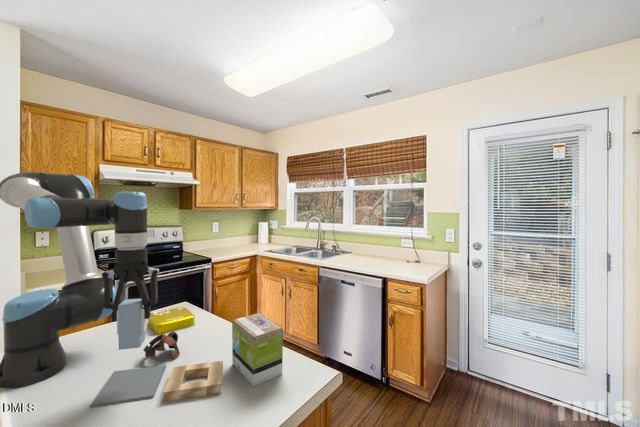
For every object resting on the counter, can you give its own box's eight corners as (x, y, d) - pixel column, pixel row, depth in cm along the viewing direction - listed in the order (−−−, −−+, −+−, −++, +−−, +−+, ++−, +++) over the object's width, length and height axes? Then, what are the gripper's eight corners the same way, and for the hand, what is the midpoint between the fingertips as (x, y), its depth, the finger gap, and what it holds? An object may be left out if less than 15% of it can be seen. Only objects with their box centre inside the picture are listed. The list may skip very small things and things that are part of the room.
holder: (163, 401, 76) (163, 392, 76) (173, 375, 87) (173, 367, 87) (221, 392, 80) (221, 383, 80) (222, 368, 91) (222, 360, 91)
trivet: (90, 407, 73) (90, 404, 73) (114, 373, 88) (114, 371, 88) (153, 397, 77) (153, 395, 77) (166, 366, 92) (166, 364, 92)
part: (118, 349, 79) (118, 305, 78) (125, 341, 84) (124, 299, 83) (139, 347, 80) (139, 303, 80) (145, 339, 85) (144, 298, 85)
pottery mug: (173, 366, 93) (158, 346, 91) (149, 376, 95) (134, 357, 93) (190, 339, 105) (177, 321, 103) (169, 348, 106) (155, 331, 104)
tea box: (230, 364, 94) (231, 318, 93) (259, 354, 100) (259, 311, 99) (253, 388, 82) (253, 335, 82) (283, 374, 89) (284, 326, 88)
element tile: (155, 336, 113) (155, 324, 113) (146, 324, 124) (146, 312, 124) (195, 326, 123) (195, 314, 123) (184, 315, 134) (184, 304, 134)
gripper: (86, 251, 75) (87, 341, 76) (164, 248, 80) (165, 333, 81) (99, 246, 82) (100, 329, 83) (170, 245, 87) (170, 322, 88)
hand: (132, 331), depth 82 cm, fingers closed on part, 5 cm apart
